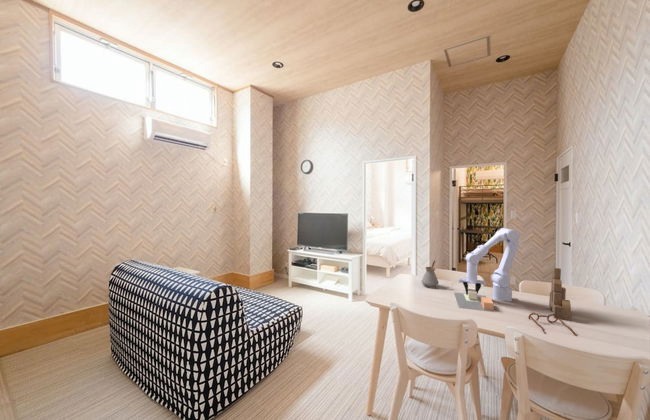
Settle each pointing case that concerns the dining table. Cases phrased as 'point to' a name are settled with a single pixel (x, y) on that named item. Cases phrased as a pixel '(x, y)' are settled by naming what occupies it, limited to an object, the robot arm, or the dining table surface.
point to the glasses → (549, 321)
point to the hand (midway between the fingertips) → (471, 294)
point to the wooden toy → (559, 297)
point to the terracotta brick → (487, 303)
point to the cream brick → (472, 293)
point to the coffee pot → (430, 277)
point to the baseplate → (470, 302)
